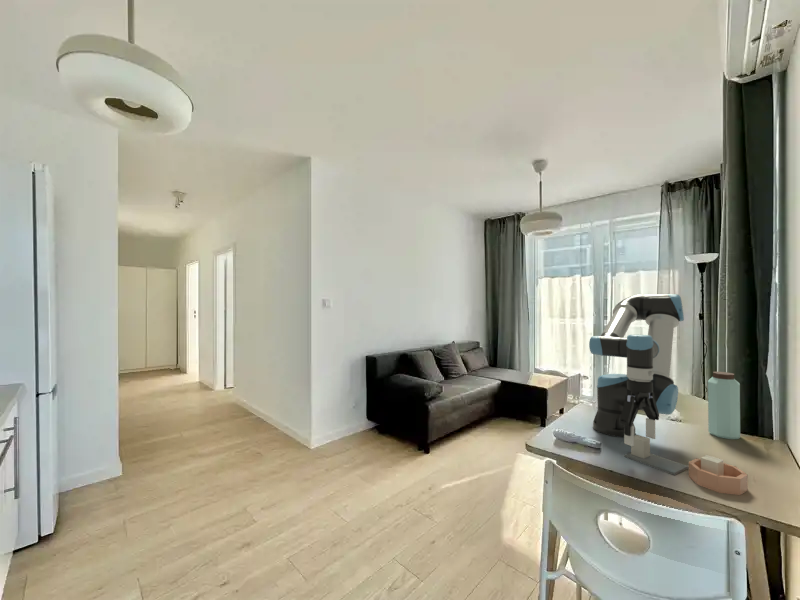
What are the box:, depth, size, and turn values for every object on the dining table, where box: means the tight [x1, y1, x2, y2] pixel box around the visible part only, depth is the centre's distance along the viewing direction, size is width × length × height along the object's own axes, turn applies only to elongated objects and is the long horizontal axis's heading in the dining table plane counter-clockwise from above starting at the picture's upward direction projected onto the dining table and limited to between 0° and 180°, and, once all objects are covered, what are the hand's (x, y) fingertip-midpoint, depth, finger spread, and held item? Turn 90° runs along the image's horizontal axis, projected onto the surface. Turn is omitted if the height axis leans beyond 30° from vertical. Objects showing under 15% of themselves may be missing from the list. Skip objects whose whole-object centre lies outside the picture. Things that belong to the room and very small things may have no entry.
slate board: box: [623, 451, 689, 476], centre depth 118 cm, size 15×9×1 cm, turn 29°
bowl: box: [688, 458, 749, 496], centre depth 105 cm, size 12×12×4 cm
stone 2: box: [700, 454, 725, 476], centre depth 105 cm, size 4×4×6 cm
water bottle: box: [707, 371, 741, 440], centre depth 140 cm, size 10×10×25 cm
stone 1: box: [630, 434, 651, 458], centre depth 122 cm, size 4×4×6 cm
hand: (640, 441), depth 122 cm, fingers open, 13 cm apart
